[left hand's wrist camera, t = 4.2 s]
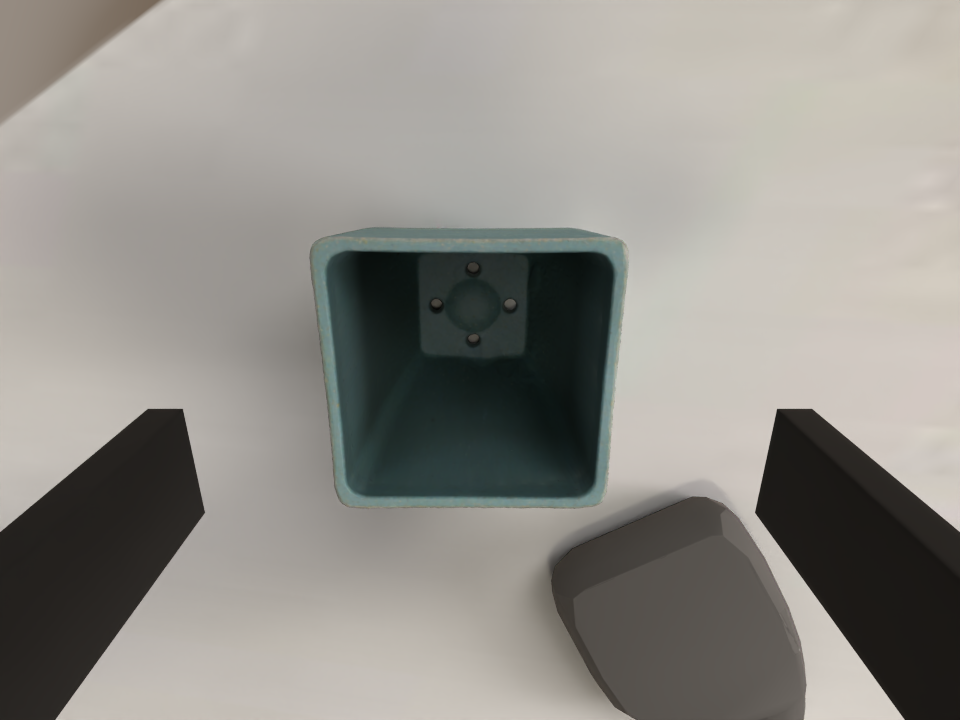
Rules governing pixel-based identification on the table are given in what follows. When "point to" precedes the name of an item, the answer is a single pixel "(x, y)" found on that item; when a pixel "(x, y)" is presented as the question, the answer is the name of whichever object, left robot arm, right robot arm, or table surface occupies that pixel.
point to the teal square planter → (470, 364)
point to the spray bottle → (683, 619)
